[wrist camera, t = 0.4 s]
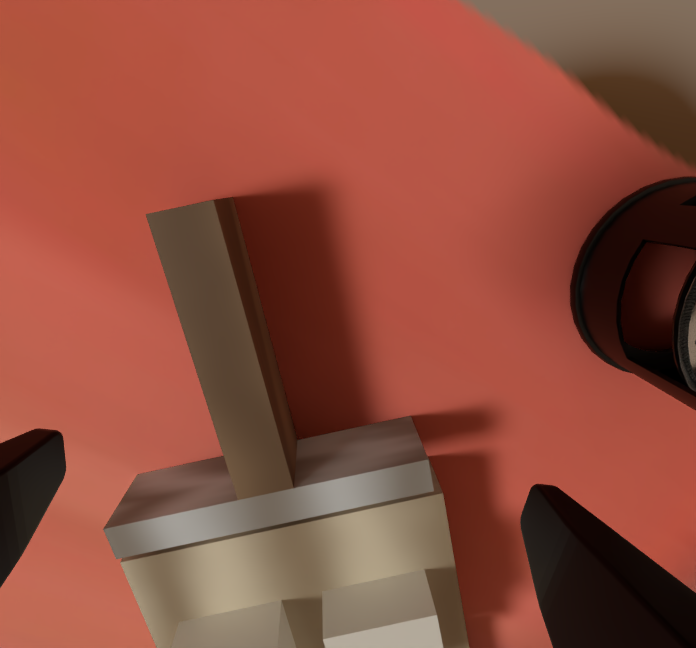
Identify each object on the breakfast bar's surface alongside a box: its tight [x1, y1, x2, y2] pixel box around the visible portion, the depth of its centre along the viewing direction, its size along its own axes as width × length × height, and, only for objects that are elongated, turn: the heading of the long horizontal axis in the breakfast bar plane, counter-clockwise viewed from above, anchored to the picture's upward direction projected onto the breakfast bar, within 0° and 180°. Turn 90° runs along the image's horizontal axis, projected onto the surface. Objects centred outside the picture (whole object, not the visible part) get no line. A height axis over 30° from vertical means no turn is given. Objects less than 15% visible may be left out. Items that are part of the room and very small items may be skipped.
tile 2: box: [322, 570, 443, 648], centre depth 22 cm, size 5×5×2 cm
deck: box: [120, 458, 469, 648], centre depth 24 cm, size 15×11×3 cm
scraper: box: [103, 197, 434, 559], centre depth 20 cm, size 14×14×4 cm
